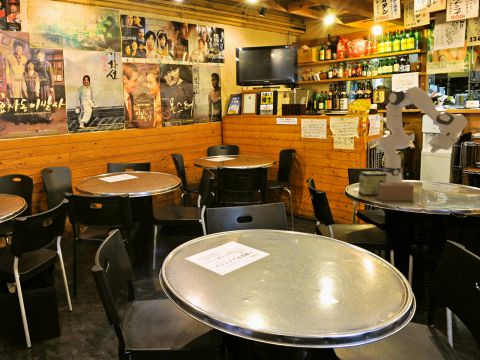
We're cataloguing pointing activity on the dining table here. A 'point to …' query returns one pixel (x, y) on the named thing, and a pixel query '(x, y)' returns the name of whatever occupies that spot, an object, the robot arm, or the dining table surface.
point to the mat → (393, 201)
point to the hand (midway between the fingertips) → (431, 152)
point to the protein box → (370, 182)
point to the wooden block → (396, 191)
